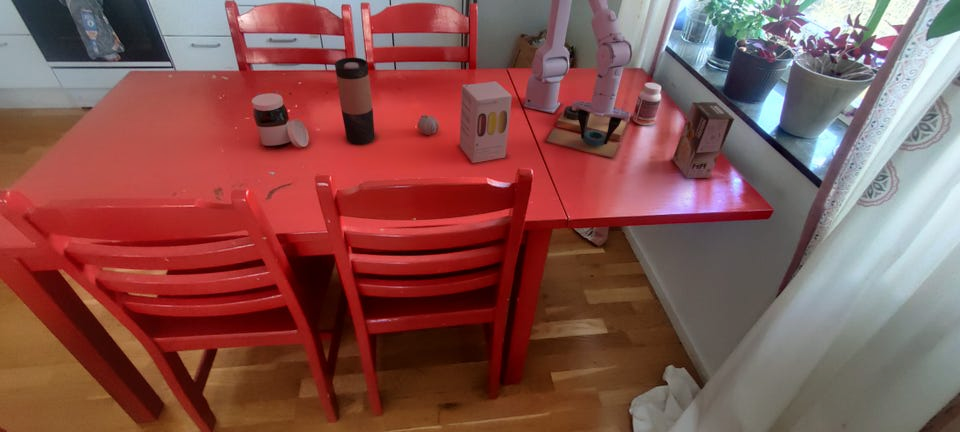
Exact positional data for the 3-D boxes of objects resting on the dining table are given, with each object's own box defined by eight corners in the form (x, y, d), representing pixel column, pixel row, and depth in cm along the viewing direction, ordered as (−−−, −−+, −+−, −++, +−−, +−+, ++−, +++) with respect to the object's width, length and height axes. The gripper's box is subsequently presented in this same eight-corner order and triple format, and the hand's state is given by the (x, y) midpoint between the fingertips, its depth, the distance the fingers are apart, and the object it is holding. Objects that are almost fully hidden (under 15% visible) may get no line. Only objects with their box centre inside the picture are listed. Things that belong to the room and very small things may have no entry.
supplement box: (472, 164, 113) (475, 100, 103) (458, 146, 120) (459, 84, 109) (506, 157, 116) (513, 95, 106) (491, 140, 123) (496, 79, 112)
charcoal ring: (561, 117, 131) (562, 111, 130) (567, 109, 135) (568, 104, 134) (580, 122, 129) (582, 116, 128) (585, 114, 134) (586, 108, 132)
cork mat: (545, 141, 124) (545, 140, 123) (554, 129, 129) (554, 128, 129) (612, 158, 119) (612, 157, 118) (617, 144, 124) (618, 143, 124)
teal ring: (581, 143, 121) (582, 137, 120) (586, 134, 125) (587, 128, 124) (602, 148, 119) (603, 142, 118) (606, 139, 123) (608, 133, 122)
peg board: (556, 126, 131) (559, 108, 127) (565, 112, 138) (568, 95, 135) (619, 141, 126) (624, 123, 122) (625, 126, 133) (630, 109, 130)
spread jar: (260, 135, 119) (248, 92, 112) (306, 128, 123) (297, 87, 116) (263, 158, 111) (250, 114, 103) (312, 150, 114) (303, 107, 107)
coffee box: (710, 178, 113) (736, 119, 103) (685, 178, 113) (709, 119, 103) (694, 158, 121) (716, 101, 110) (670, 158, 120) (691, 101, 110)
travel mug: (380, 134, 122) (373, 60, 110) (366, 148, 117) (356, 71, 104) (355, 128, 124) (345, 55, 112) (340, 141, 118) (327, 65, 106)
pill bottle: (657, 123, 136) (669, 87, 129) (643, 127, 133) (654, 91, 126) (641, 114, 140) (651, 79, 133) (627, 119, 137) (637, 83, 130)
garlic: (413, 134, 123) (412, 117, 120) (422, 126, 127) (421, 108, 124) (433, 139, 122) (433, 121, 118) (442, 130, 126) (442, 113, 122)
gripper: (572, 91, 113) (563, 139, 121) (632, 103, 108) (618, 153, 117) (579, 81, 118) (570, 128, 126) (636, 93, 114) (623, 141, 122)
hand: (594, 139), depth 122 cm, fingers closed on teal ring, 5 cm apart
